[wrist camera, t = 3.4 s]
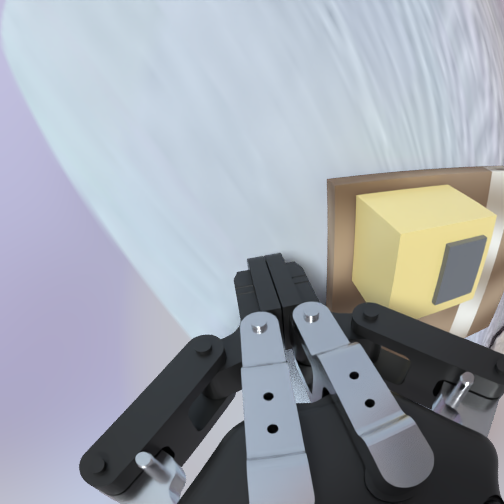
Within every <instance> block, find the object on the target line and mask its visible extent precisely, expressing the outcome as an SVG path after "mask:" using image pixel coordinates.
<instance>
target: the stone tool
mask: <svg viewBox="0 0 504 504" xmlns="http://www.w3.org/2000/svg"><path fill="white" fill-rule="evenodd" d="M490 349H492V350H494V351H497V352H499V353H502V354H504V330H503V331H502V333H501V334H500V335H499V336H498V337H497V338H496V339H495V341H494V344H493V345H492V346H491V348H490Z"/></svg>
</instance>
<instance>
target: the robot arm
mask: <svg viewBox="0 0 504 504" xmlns="http://www.w3.org/2000/svg"><path fill="white" fill-rule="evenodd" d="M247 264H248V270H246V271H240V272H237V274H236V276H235V278H234V284H235V290H236V295H237V301H238V307H239V313H240V318H241V322H240V326H239V327H238V329H237V330H236V331H235V332H234V333H233V334H231V335H229V336H227V337H225V338H223V339H220V338H218V337H216V336H214V335H201V336H198V337H195V338H193V339H192V340H191V341H190V342H188V344H187V345H186V346H185V347H184V348H183V349H182V350H181V351H180V352H179V353H178V355H177V356H176V357H175V358H174V359H173V360H172V361H171V362H170V363H169V364H168V365H167V366H166V367H165V369H164V370H163V371H162V372H161V373H160V374H159V375H158V376H157V377H156V378H155V379H154V380H153V382H152V383H151V384H150V385H149V386H148V387H147V388H146V389H145V390H144V391H143V392H142V393H141V394H140V395H139V397H138V398H137V399H136V400H135V401H134V402H133V403H132V404H131V405H130V406H129V407H128V408H127V409H126V411H124V413H123V414H122V415H121V416H120V417H119V418H118V419H117V420H116V421H115V422H114V423H113V424H112V425H111V426H110V427H109V429H108V430H107V431H106V432H105V433H104V434H103V435H102V436H101V437H100V438H99V439H98V440H97V441H96V442H95V443H94V444H93V445H92V446H91V448H90V449H89V450H88V451H87V452H86V453H85V454H84V455H83V456H82V458H81V461H80V464H79V470H80V474H81V476H82V478H83V479H84V480H85V481H86V482H87V483H88V484H90V485H91V486H93V487H95V488H96V489H98V490H99V491H100V492H101V493H103V494H104V495H106V496H108V497H110V498H111V499H113V500H115V501H117V502H119V503H120V504H504V501H503V500H502V498H501V495H500V491H499V484H498V456H497V452H496V449H495V447H494V445H493V444H492V443H491V441H490V440H489V439H488V438H487V436H488V433H489V430H490V427H491V424H492V421H493V418H494V415H495V412H496V408H497V405H498V401H499V399H500V398H501V396H502V395H503V394H504V354H502V353H499V352H497V351H494V350H492V349H489V348H487V347H484V346H482V345H479V344H477V343H474V342H472V341H469V340H467V339H464V338H462V337H459V336H457V335H454V334H452V333H449V332H447V331H444V330H442V329H439V328H437V327H434V326H432V325H429V324H427V323H424V322H422V321H419V320H417V319H414V318H412V317H409V316H407V315H404V314H402V313H399V312H397V311H394V310H392V309H389V308H387V307H384V306H382V305H379V304H377V303H371V302H366V303H362V304H359V305H357V306H356V307H355V308H354V310H353V312H352V313H335V312H331V311H330V310H329V309H328V308H327V307H326V306H325V305H323V304H321V303H319V301H318V298H317V296H316V294H315V292H314V290H313V288H312V286H311V284H310V282H309V281H308V278H307V276H306V274H305V272H304V270H303V268H302V267H301V266H299V265H298V264H297V263H295V262H290V263H285V262H284V259H283V257H282V255H281V253H277V254H271V255H266V256H264V257H263V256H260V257H255V258H249V259H247ZM284 346H285V349H286V350H288V349H292V350H293V353H294V363H295V366H296V368H297V371H298V373H299V375H300V378H301V380H302V382H303V385H304V387H305V389H306V392H307V394H308V396H309V399H310V402H311V403H296V401H295V396H294V391H293V386H292V381H291V375H290V370H289V366H288V362H287V361H286V358H285V353H284ZM382 346H383V347H385V348H388V349H390V350H392V351H394V352H397V353H399V354H401V355H404V356H406V357H407V358H408V359H409V360H407V359H405V358H402V357H400V356H398V355H395V354H393V353H391V352H389V351H386V350H384V349H382V348H381V347H382ZM240 390H242V393H243V407H244V421H242V422H241V423H239V424H238V425H236V426H235V427H233V428H232V429H231V430H230V431H229V432H228V433H227V434H226V435H225V436H224V438H223V439H222V441H221V442H220V444H219V445H218V447H217V448H216V450H215V451H214V452H213V454H212V455H211V457H210V458H209V460H208V461H207V463H206V464H205V465H204V467H203V468H202V470H201V471H200V473H199V474H198V476H197V477H196V478H195V480H194V481H193V483H192V484H191V485H190V486H189V488H188V489H187V491H186V492H185V493H184V495H183V496H182V497H181V499H180V494H181V491H182V489H183V487H184V486H185V483H186V475H185V472H184V470H183V469H182V468H181V467H182V466H183V464H184V463H185V462H186V461H187V459H188V458H189V457H190V456H191V454H192V453H193V452H194V451H195V449H196V448H197V447H198V445H199V444H200V443H201V442H202V440H203V439H204V437H205V436H206V435H207V434H208V432H209V431H210V430H211V428H212V427H213V426H214V424H215V423H216V422H217V420H218V419H219V417H220V416H221V415H222V414H223V412H224V411H225V410H226V408H227V407H228V405H229V404H230V403H231V401H232V400H233V399H234V397H235V394H236V392H238V391H240ZM392 391H393V392H392ZM420 404H421V405H420ZM422 405H423V406H422ZM424 406H425V407H424ZM426 407H427V408H426ZM428 408H430V409H432V410H430V409H428Z"/></svg>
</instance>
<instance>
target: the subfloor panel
mask: <svg viewBox="0 0 504 504" xmlns="http://www.w3.org/2000/svg"><path fill="white" fill-rule="evenodd" d="M439 185H450V186H451V187H453V188H455V189H456V190H458V191H460V192H461V193H463V194H465V195H466V196H468V197H470V198H471V199H473V200H474V201H476V202H478V203H479V204H481V205H482V206H484V207H485V208H487V209H488V210H490V211H491V212H493V213H494V214H496V215H497V218H496V222H495V226H494V231H493V235H492V239H491V242H490V246H489V250H488V253H487V257H486V260H485V264H484V267H483V270H482V273H481V276H480V280H479V283H478V285H477V288H476V291H475V294H474V297H473V299H471V300H468V301H466V302H463V303H460V304H458V305H455V306H452V307H450V308H447V309H444V310H442V311H439V312H436V313H433V314H430V315H427V316H424V317H421V318H418V319H417V320H419V321H422V322H424V323H427V324H429V325H432V326H434V327H437V328H439V329H442V330H444V331H447V332H449V333H452V334H454V335H457V336H459V337H462V338H466V337H468V336H470V335H472V334H474V333H476V332H478V331H480V330H482V329H484V328H486V327H488V326H489V324H490V322H491V320H492V318H493V316H494V313H495V311H496V309H497V306H498V304H499V302H500V299H501V297H502V294H503V292H504V166H481V167H459V168H441V169H426V170H413V171H400V172H389V173H378V174H368V175H359V176H350V177H341V178H332V179H327V203H328V254H327V294H326V307H327V308H328V309H329V310H330V311H331V312H335V313H352V312H353V310H354V308H355V307H356V306H357V305H359V304H362V303H366V301H365V300H364V298H363V297H362V295H361V294H360V292H359V291H358V289H357V288H356V286H355V285H354V283H353V282H352V271H353V257H354V241H355V220H356V195H362V194H370V193H378V192H386V191H394V190H402V189H411V188H420V187H429V186H439ZM381 348H382V349H384V350H386V351H389V352H391V353H393V354H395V355H398V356H400V357H402V358H405V359H407V360H409V359H408V358H407V357H406V356H404V355H401V354H399V353H397V352H394V351H392V350H390V349H388V348H385V347H383V346H382V347H381Z"/></svg>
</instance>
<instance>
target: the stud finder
mask: <svg viewBox="0 0 504 504" xmlns="http://www.w3.org/2000/svg"><path fill="white" fill-rule="evenodd" d="M496 218H497V215H496V214H494V213H493V212H491V211H490V210H488V209H487V208H485V207H484V206H482V205H481V204H479V203H478V202H476V201H474V200H473V199H471V198H470V197H468V196H466V195H465V194H463V193H461V192H460V191H458V190H456V189H455V188H453V187H451V186H450V185H439V186H429V187H420V188H411V189H402V190H394V191H386V192H378V193H370V194H362V195H356V220H355V241H354V257H353V271H352V282H353V283H354V285H355V286H356V288H357V289H358V291H359V292H360V294H361V295H362V297H363V298H364V300H365V301H366V302H371V303H377V304H379V305H382V306H384V307H387V308H389V309H392V310H394V311H397V312H399V313H402V314H404V315H407V316H409V317H412V318H414V319H418V318H421V317H424V316H427V315H430V314H433V313H436V312H439V311H442V310H444V309H447V308H450V307H452V306H455V305H458V304H460V303H463V302H466V301H468V300H471V299H473V297H474V294H475V291H476V288H477V285H478V283H479V280H480V276H481V273H482V270H483V267H484V264H485V260H486V257H487V253H488V250H489V246H490V242H491V239H492V235H493V231H494V226H495V222H496Z"/></svg>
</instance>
